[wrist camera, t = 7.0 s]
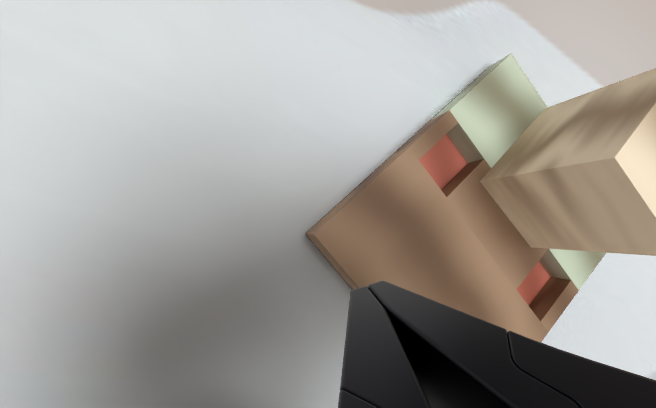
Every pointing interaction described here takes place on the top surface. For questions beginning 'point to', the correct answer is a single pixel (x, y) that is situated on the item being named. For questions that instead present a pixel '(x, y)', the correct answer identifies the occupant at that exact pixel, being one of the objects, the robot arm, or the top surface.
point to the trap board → (456, 217)
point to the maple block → (585, 172)
